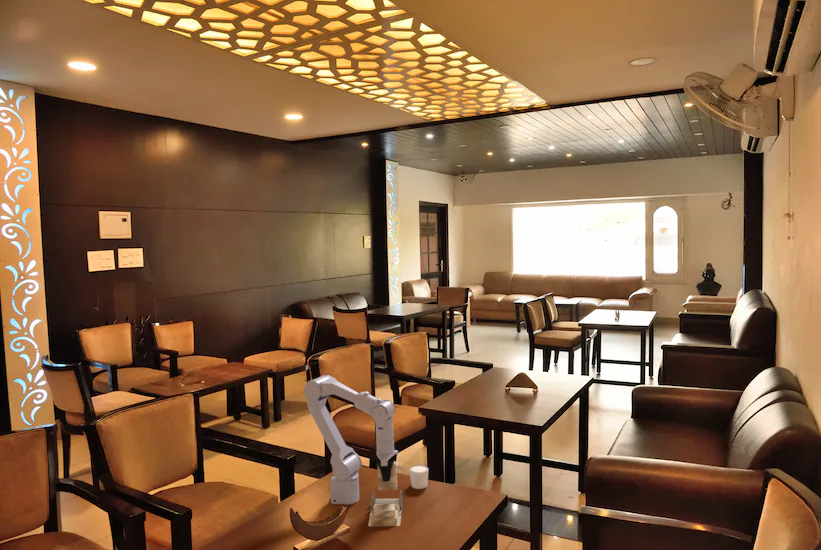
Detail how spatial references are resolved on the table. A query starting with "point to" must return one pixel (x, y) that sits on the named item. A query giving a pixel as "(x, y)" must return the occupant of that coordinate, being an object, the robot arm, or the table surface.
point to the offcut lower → (384, 519)
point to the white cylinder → (419, 476)
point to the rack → (396, 502)
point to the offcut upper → (384, 511)
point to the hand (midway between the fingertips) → (386, 478)
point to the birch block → (388, 484)
